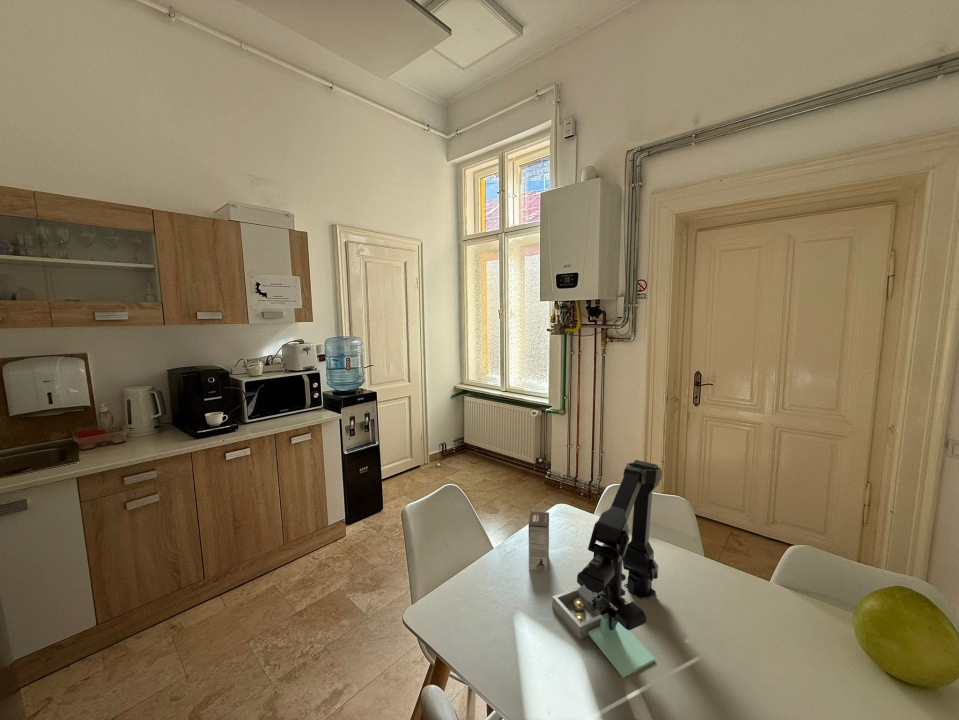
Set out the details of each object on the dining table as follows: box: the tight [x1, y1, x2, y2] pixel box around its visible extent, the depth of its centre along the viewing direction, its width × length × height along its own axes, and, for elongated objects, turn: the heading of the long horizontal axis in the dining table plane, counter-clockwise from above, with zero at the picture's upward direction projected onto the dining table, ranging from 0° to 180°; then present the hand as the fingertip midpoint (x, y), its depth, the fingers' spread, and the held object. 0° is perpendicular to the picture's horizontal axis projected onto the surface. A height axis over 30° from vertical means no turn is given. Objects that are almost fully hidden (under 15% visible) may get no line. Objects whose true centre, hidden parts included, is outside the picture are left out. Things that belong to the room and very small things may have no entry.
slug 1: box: [573, 598, 584, 613], centre depth 110 cm, size 3×3×2 cm
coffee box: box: [528, 511, 550, 572], centre depth 130 cm, size 9×6×16 cm
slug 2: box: [574, 613, 586, 623], centre depth 104 cm, size 3×3×2 cm
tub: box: [551, 585, 601, 640], centre depth 107 cm, size 10×12×4 cm
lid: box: [588, 613, 656, 679], centre depth 96 cm, size 10×12×5 cm
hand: (608, 626), depth 100 cm, fingers closed
